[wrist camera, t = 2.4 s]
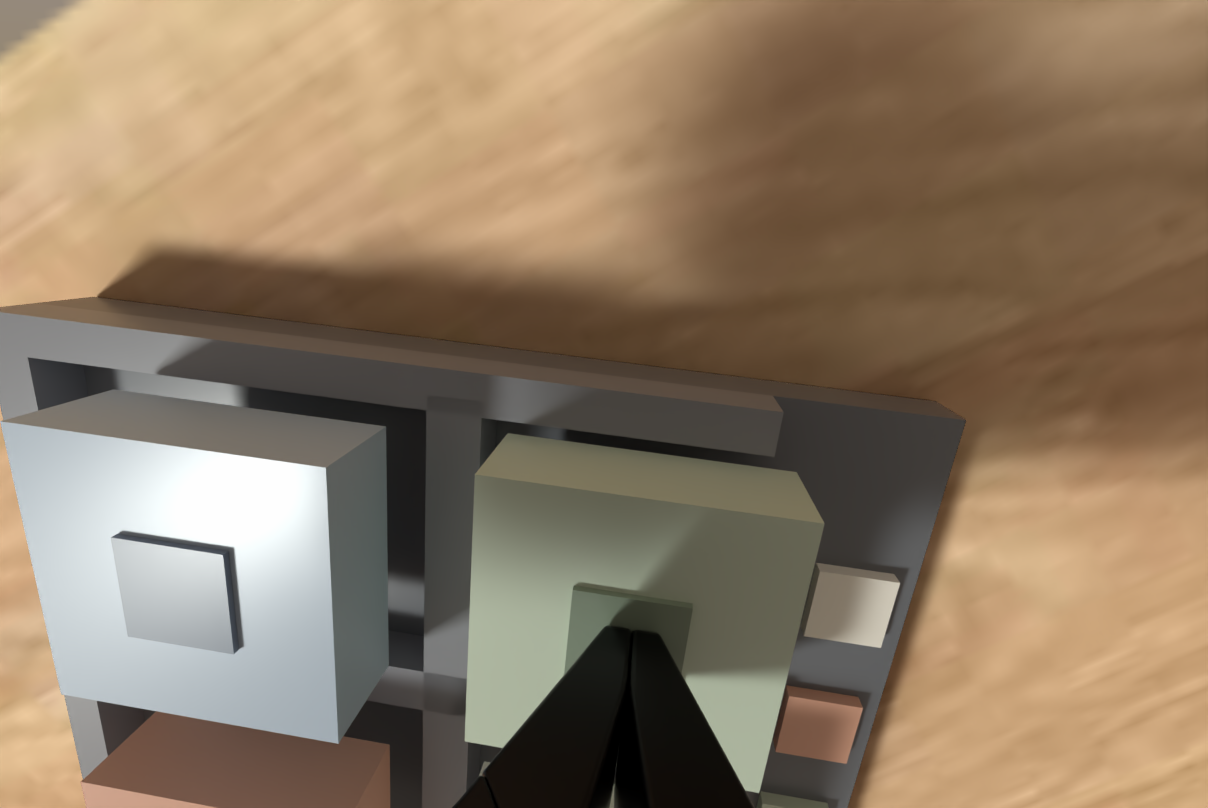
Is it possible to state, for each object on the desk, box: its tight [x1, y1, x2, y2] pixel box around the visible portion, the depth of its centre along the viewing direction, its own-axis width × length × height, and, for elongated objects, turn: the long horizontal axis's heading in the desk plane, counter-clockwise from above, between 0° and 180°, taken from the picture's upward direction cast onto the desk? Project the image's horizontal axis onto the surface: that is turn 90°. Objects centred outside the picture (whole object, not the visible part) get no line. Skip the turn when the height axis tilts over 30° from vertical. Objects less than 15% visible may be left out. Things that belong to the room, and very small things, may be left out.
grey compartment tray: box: [0, 297, 966, 808], centre depth 13 cm, size 18×14×2 cm
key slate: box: [0, 389, 389, 744], centre depth 10 cm, size 5×5×2 cm
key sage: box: [465, 433, 825, 793], centre depth 10 cm, size 5×5×2 cm
